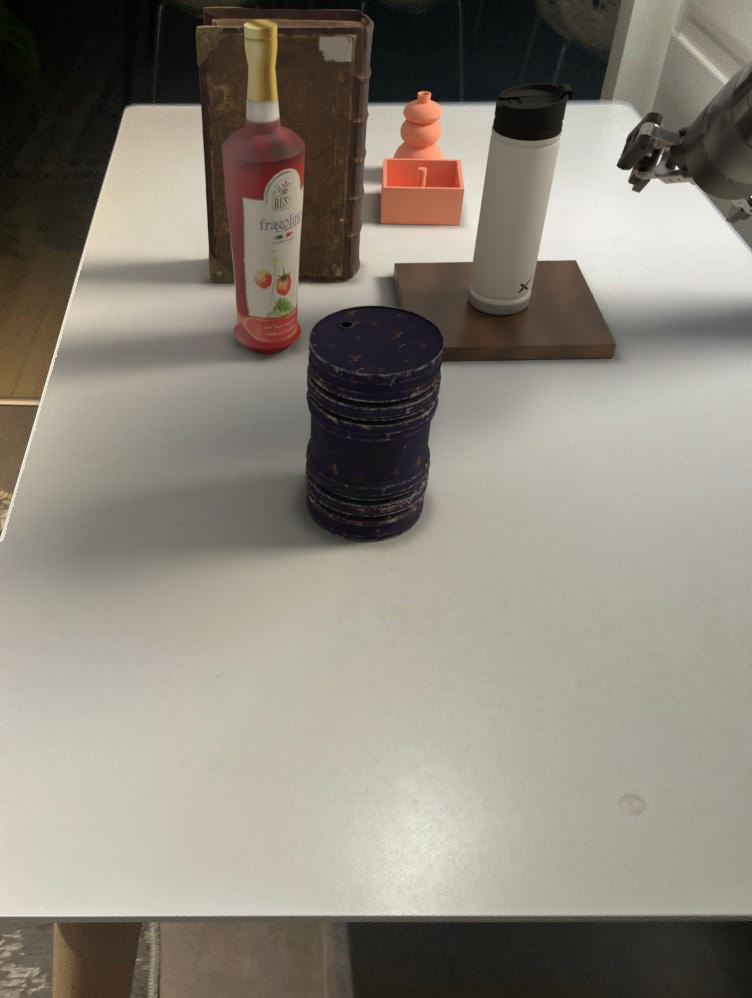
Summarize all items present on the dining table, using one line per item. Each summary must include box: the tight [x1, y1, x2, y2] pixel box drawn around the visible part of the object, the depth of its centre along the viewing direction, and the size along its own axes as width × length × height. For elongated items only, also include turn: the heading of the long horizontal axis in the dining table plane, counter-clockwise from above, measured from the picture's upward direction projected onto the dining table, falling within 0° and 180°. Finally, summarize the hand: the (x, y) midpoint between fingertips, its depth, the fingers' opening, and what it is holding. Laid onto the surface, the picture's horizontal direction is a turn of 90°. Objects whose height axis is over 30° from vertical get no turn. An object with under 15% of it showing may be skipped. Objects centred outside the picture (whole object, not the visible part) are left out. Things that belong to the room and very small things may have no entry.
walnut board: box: [393, 259, 617, 362], centre depth 99 cm, size 20×18×2 cm
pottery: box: [380, 90, 465, 226], centre depth 118 cm, size 18×10×10 cm, turn 175°
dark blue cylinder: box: [304, 305, 444, 543], centre depth 73 cm, size 10×10×15 cm
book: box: [195, 6, 375, 283], centre depth 98 cm, size 17×7×25 cm, turn 82°
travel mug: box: [468, 82, 574, 315], centre depth 91 cm, size 6×7×20 cm
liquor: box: [221, 20, 305, 355], centre depth 86 cm, size 7×7×28 cm
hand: (686, 195), depth 83 cm, fingers open, 8 cm apart
